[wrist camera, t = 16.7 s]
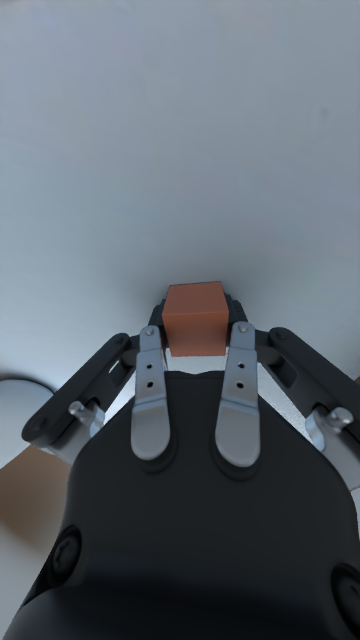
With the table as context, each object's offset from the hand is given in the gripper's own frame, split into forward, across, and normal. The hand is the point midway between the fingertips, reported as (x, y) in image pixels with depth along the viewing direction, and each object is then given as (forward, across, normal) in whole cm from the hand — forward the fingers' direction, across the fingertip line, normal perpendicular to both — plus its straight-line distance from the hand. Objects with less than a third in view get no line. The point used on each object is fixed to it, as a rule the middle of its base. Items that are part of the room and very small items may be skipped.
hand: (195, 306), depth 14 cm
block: (0, 0, 0) cm, 0 cm away
